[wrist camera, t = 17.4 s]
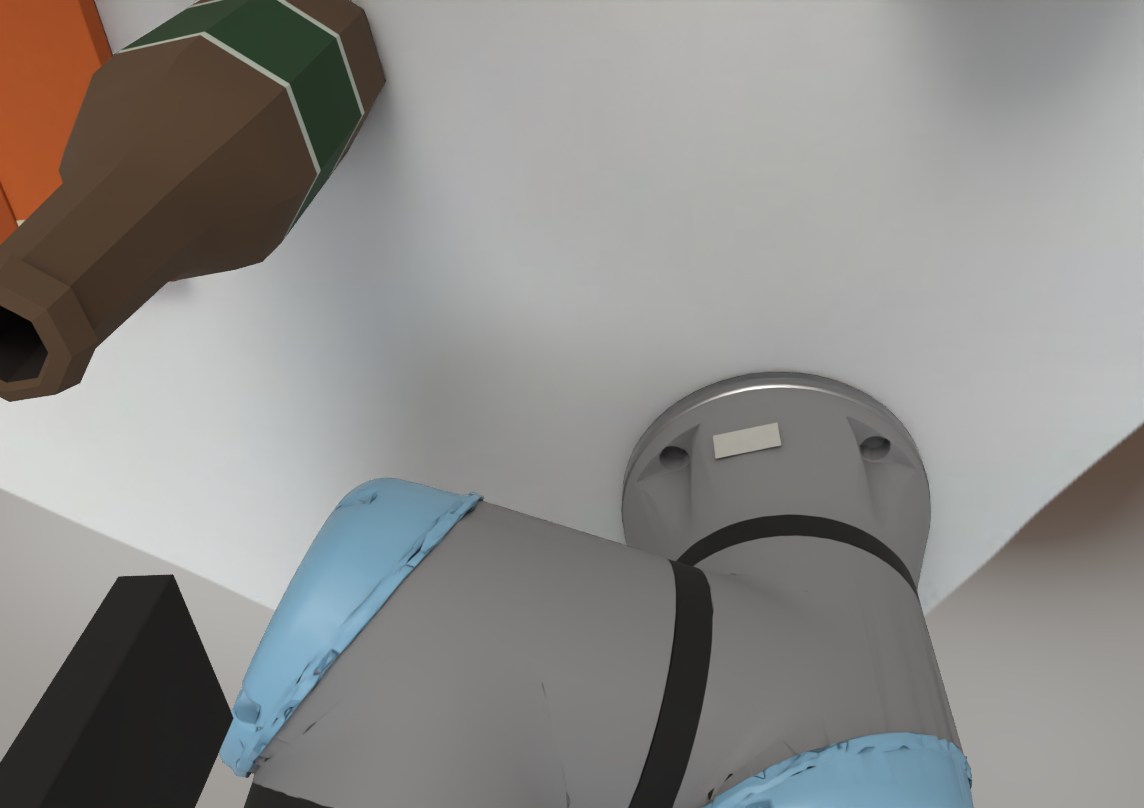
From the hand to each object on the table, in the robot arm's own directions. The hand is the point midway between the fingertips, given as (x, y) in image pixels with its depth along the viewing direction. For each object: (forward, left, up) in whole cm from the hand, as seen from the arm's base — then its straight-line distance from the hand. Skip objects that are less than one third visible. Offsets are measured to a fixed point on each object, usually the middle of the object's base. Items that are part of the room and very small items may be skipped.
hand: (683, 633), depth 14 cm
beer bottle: (-1, +16, -35) cm, 38 cm away
